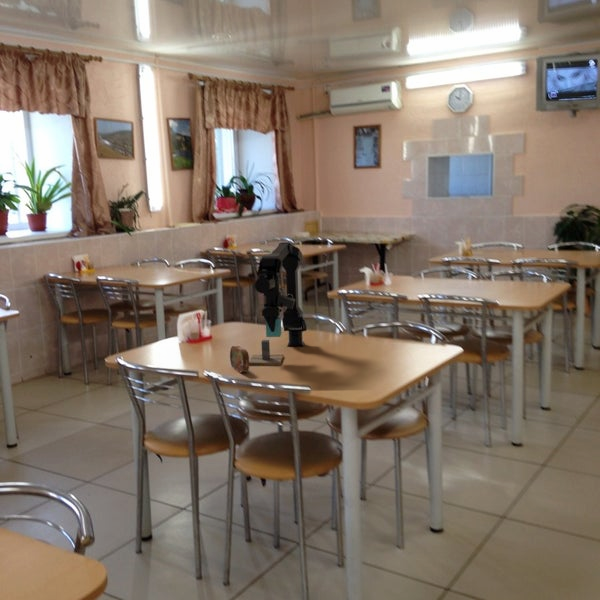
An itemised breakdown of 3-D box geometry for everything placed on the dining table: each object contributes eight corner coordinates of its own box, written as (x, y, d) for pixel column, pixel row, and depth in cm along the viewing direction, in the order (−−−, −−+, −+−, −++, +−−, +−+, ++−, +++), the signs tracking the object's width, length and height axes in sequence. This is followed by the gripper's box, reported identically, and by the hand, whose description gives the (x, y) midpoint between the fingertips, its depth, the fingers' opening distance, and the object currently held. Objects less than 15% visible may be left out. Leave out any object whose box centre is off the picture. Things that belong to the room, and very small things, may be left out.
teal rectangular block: (267, 334, 266) (267, 317, 265) (281, 333, 266) (280, 316, 265) (266, 337, 261) (265, 319, 260) (280, 336, 261) (279, 319, 260)
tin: (229, 366, 261) (228, 344, 260) (237, 364, 262) (236, 343, 261) (242, 375, 247) (241, 352, 246) (251, 374, 249) (250, 351, 247)
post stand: (252, 357, 272) (252, 337, 271) (283, 357, 271) (282, 336, 270) (248, 365, 260) (247, 344, 259) (280, 365, 259) (279, 344, 258)
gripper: (291, 292, 251) (293, 335, 254) (295, 285, 269) (296, 324, 272) (260, 293, 252) (262, 335, 254) (266, 285, 270) (268, 325, 273)
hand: (273, 330), depth 263 cm, fingers closed on teal rectangular block, 5 cm apart
